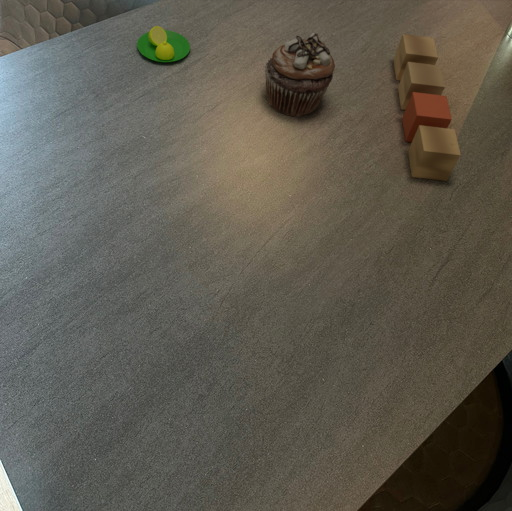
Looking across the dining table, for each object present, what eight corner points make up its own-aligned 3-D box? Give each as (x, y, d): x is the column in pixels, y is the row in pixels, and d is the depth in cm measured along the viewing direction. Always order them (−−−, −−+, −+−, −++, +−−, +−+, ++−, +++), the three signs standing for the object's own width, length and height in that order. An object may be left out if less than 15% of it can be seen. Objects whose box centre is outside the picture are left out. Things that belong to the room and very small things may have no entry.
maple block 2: (428, 92, 98) (440, 65, 94) (433, 113, 95) (445, 86, 91) (397, 88, 97) (407, 61, 93) (400, 109, 94) (411, 82, 90)
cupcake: (301, 71, 97) (313, 13, 89) (337, 110, 92) (354, 52, 84) (248, 87, 93) (256, 27, 85) (283, 128, 89) (295, 69, 81)
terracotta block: (434, 122, 94) (446, 95, 90) (439, 145, 91) (452, 119, 87) (401, 118, 93) (412, 91, 89) (405, 141, 90) (416, 115, 86)
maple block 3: (441, 155, 89) (454, 129, 85) (446, 181, 86) (460, 155, 82) (407, 151, 89) (419, 124, 85) (411, 177, 86) (423, 150, 82)
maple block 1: (423, 64, 102) (433, 37, 98) (427, 84, 99) (438, 57, 95) (393, 60, 102) (402, 33, 98) (396, 80, 99) (406, 53, 95)
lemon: (125, 47, 95) (125, 30, 93) (163, 27, 99) (163, 11, 97) (163, 72, 93) (163, 56, 90) (200, 50, 97) (201, 34, 95)
